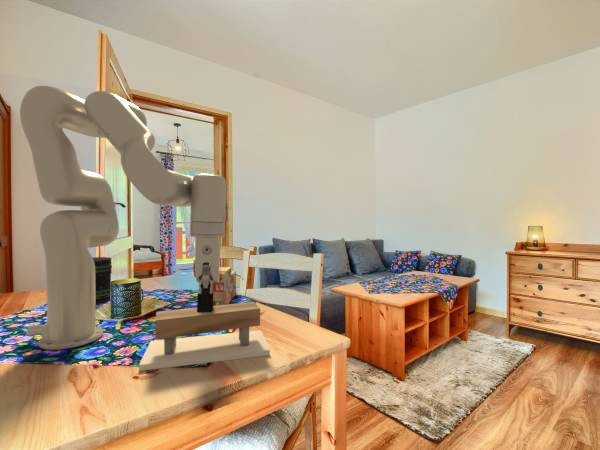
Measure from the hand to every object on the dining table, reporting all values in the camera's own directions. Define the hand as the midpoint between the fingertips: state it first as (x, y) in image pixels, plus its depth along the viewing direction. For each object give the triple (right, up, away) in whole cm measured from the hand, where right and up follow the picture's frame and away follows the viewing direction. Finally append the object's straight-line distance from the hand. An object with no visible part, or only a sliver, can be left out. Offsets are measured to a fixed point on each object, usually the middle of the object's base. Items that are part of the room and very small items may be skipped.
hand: (205, 305), depth 69 cm
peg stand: (+1, -10, 0) cm, 10 cm away
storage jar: (-52, -9, +40) cm, 66 cm away
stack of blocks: (-7, -10, +41) cm, 43 cm away
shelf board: (+1, -5, 0) cm, 5 cm away
